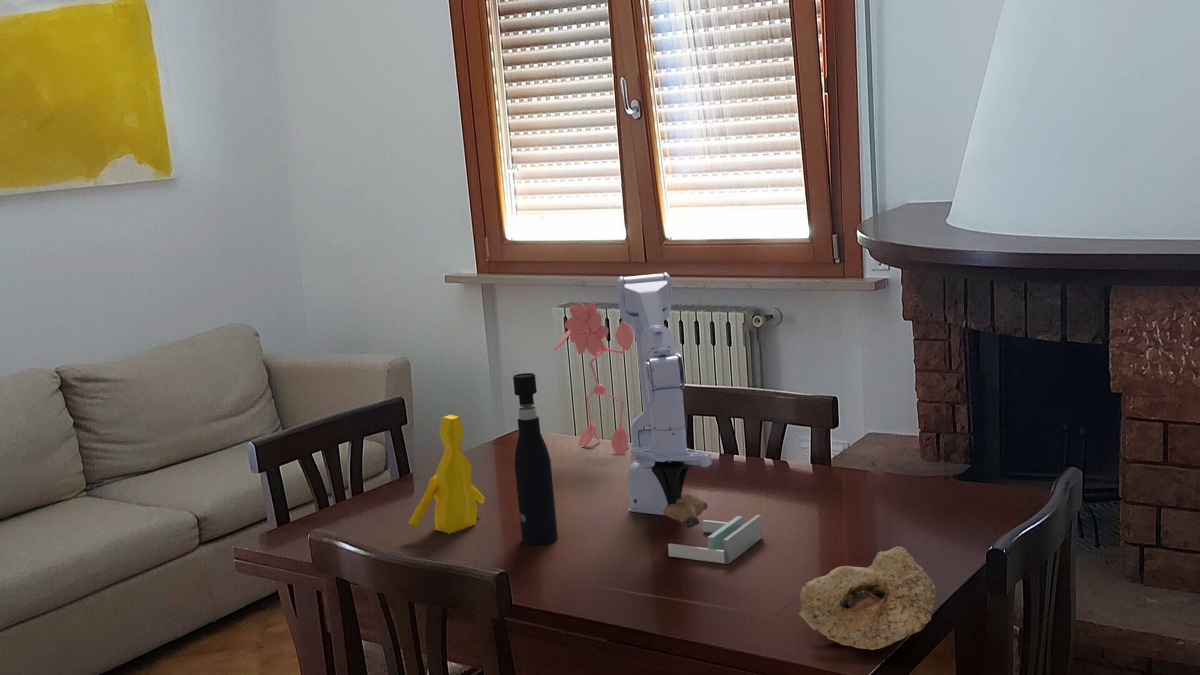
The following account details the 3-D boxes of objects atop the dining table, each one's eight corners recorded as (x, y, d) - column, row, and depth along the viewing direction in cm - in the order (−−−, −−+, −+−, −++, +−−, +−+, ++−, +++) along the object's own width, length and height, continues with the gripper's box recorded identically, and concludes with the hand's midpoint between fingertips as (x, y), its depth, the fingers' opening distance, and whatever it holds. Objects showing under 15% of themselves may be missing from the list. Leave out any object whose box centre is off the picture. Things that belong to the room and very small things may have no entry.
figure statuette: (479, 513, 226) (467, 402, 223) (505, 519, 221) (493, 406, 217) (404, 539, 214) (390, 423, 210) (429, 547, 208) (416, 428, 205)
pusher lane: (668, 556, 194) (667, 533, 193) (705, 530, 205) (703, 508, 204) (728, 564, 188) (726, 540, 187) (762, 537, 199) (761, 515, 198)
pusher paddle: (709, 557, 191) (707, 537, 190) (738, 535, 200) (737, 516, 199) (714, 558, 190) (713, 537, 190) (743, 536, 199) (742, 516, 199)
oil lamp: (654, 532, 198) (696, 537, 193) (650, 511, 196) (692, 516, 192) (678, 506, 205) (719, 511, 200) (674, 486, 203) (715, 490, 199)
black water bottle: (563, 534, 209) (547, 371, 204) (550, 546, 203) (534, 378, 198) (530, 533, 211) (514, 371, 207) (516, 545, 205) (499, 379, 201)
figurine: (579, 441, 275) (566, 294, 269) (659, 456, 256) (647, 298, 250) (530, 457, 264) (515, 304, 259) (609, 473, 246) (595, 309, 240)
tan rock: (854, 697, 153) (843, 657, 149) (795, 632, 165) (784, 594, 161) (965, 630, 157) (957, 589, 153) (899, 571, 169) (891, 532, 165)
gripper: (619, 429, 198) (625, 506, 200) (695, 435, 190) (701, 514, 192) (640, 419, 203) (646, 494, 206) (714, 424, 196) (720, 501, 198)
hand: (674, 503), depth 199 cm, fingers closed, pressing on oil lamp
